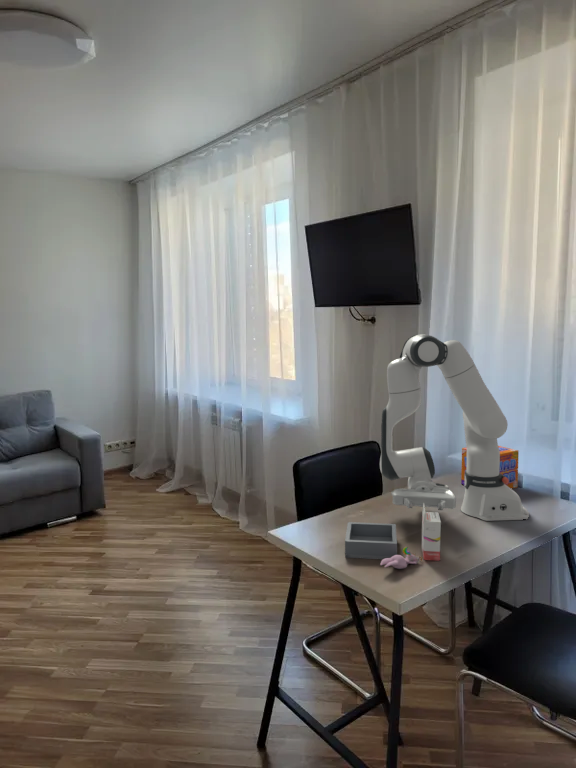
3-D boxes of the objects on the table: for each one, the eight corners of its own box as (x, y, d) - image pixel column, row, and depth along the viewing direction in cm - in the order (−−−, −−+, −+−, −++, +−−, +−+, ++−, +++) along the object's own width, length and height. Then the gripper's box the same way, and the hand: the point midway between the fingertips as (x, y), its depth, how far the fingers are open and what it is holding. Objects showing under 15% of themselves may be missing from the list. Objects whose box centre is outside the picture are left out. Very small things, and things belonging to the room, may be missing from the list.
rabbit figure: (409, 561, 162) (373, 568, 152) (411, 541, 161) (376, 546, 152) (426, 569, 157) (390, 576, 147) (428, 548, 156) (392, 554, 147)
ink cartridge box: (441, 561, 158) (441, 512, 156) (423, 560, 159) (423, 511, 157) (438, 548, 166) (438, 502, 164) (421, 548, 167) (421, 501, 165)
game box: (491, 494, 214) (492, 455, 212) (460, 484, 227) (461, 447, 225) (517, 488, 221) (519, 450, 219) (486, 478, 235) (487, 442, 233)
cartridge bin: (395, 539, 174) (395, 524, 173) (396, 560, 159) (397, 543, 159) (348, 536, 176) (347, 522, 176) (345, 557, 162) (344, 541, 161)
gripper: (391, 482, 188) (392, 495, 175) (453, 485, 185) (458, 499, 171) (390, 499, 189) (391, 514, 176) (452, 503, 186) (457, 518, 172)
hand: (425, 506), depth 173 cm, fingers open, 8 cm apart
